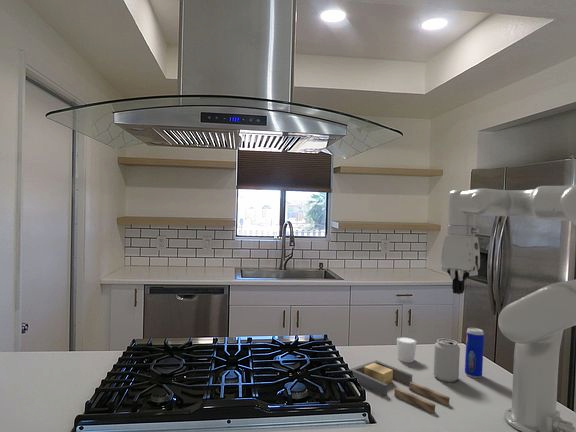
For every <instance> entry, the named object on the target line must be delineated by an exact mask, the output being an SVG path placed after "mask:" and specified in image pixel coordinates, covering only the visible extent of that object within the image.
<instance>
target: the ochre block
mask: <svg viewBox="0 0 576 432" xmlns="http://www.w3.org/2000/svg"><path fill="white" fill-rule="evenodd" d="M364 374H365V375H368V376H370V377H372V378H374V379H377V380H379V381H381V382H383V383H385V384H388V385H389V384H392V383H393V380H394V378H393V370H392V369H389V368H386V367H384V366H381V365H378V364H375V363H372V364H370V365H368V366H365V367H364Z"/></svg>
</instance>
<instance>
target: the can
mask: <svg viewBox="0 0 576 432" xmlns="http://www.w3.org/2000/svg"><path fill="white" fill-rule="evenodd" d="M460 353H461V348H460V346H459V343H458V342H457V341H456V340H454V339H450V338H443V337H442V338H437V340H436V342H435V343H434V355H433V360H434V361H433V376H434V377H435V378H436V379H437V380H439V381H441V382H445V383H446V382H447V383H453V382H454V383H455V382H456V381H458V379H459V375H460Z"/></svg>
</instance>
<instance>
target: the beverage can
mask: <svg viewBox="0 0 576 432" xmlns="http://www.w3.org/2000/svg"><path fill="white" fill-rule="evenodd" d="M465 336H466V339H465V359H464V361H465V362H464V373H465V375H466V376H468V377H469V378H473V379H480V378H482V376H483V365H484V362H483V361H484V342H485V333H484V330H483V329H480V328H478V327H468V328H467V330H466V335H465Z"/></svg>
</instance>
